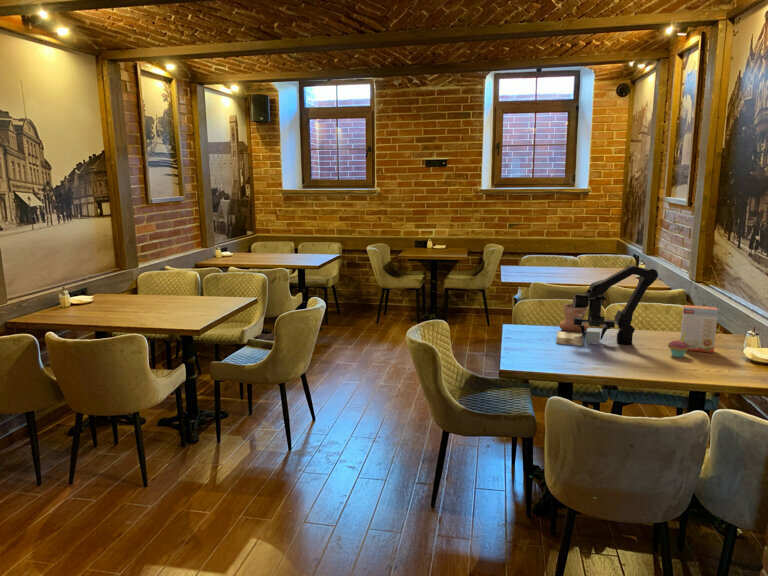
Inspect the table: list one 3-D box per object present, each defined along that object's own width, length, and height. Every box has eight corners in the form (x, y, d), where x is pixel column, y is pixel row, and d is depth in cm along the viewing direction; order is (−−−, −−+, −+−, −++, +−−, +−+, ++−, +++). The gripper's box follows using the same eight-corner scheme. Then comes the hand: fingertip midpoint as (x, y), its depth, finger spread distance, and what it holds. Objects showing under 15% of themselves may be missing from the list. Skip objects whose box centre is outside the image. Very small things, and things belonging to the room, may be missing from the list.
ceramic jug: (593, 335, 287) (595, 308, 285) (566, 336, 286) (568, 308, 284) (579, 327, 305) (581, 302, 302) (553, 327, 304) (555, 302, 302)
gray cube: (598, 341, 278) (599, 329, 277) (599, 344, 272) (600, 332, 271) (585, 340, 280) (586, 328, 279) (586, 343, 274) (587, 331, 273)
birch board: (581, 338, 281) (582, 333, 281) (582, 345, 270) (582, 339, 270) (556, 336, 285) (557, 331, 284) (556, 343, 274) (556, 337, 273)
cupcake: (686, 354, 257) (689, 329, 255) (689, 359, 249) (692, 333, 247) (665, 352, 260) (668, 327, 257) (668, 357, 252) (671, 331, 249)
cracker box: (712, 350, 263) (717, 306, 259) (713, 353, 258) (718, 309, 254) (678, 346, 269) (683, 304, 265) (679, 349, 264) (684, 306, 260)
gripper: (575, 310, 268) (572, 341, 271) (616, 313, 263) (614, 345, 266) (574, 305, 279) (572, 335, 282) (614, 308, 273) (612, 339, 276)
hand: (592, 339), depth 276 cm, fingers open, 7 cm apart
